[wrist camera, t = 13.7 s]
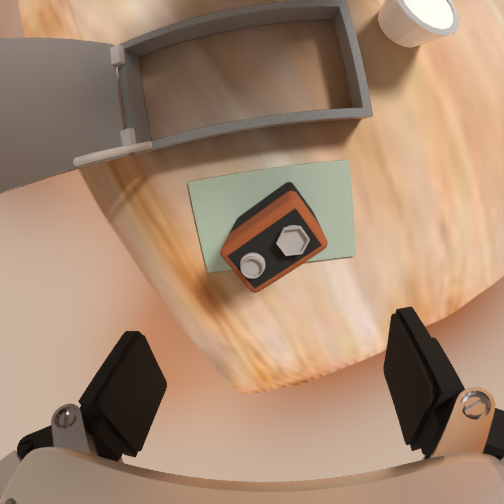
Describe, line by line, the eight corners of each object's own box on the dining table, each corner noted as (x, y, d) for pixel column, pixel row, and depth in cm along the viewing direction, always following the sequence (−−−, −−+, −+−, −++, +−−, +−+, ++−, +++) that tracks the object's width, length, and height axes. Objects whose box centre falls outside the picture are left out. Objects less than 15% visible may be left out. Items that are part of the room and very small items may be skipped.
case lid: (-93, 56, 1) (-94, 64, 2) (-93, 239, 6) (-92, 240, 6) (113, 44, 19) (107, 49, 20) (128, 155, 23) (121, 158, 24)
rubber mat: (347, 159, 26) (348, 159, 25) (354, 254, 29) (355, 255, 29) (188, 181, 28) (187, 182, 28) (208, 271, 31) (207, 272, 31)
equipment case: (338, 13, 20) (365, -40, 10) (361, 118, 24) (409, 108, 14) (122, 57, 23) (60, 33, 13) (137, 155, 27) (72, 168, 17)
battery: (315, 214, 28) (333, 252, 18) (260, 252, 30) (252, 303, 20) (289, 178, 27) (296, 198, 17) (234, 219, 29) (213, 258, 19)
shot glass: (434, 25, 18) (464, 6, 12) (418, 64, 21) (451, 49, 14) (382, -9, 18) (403, -37, 11) (363, 29, 20) (384, 2, 14)
